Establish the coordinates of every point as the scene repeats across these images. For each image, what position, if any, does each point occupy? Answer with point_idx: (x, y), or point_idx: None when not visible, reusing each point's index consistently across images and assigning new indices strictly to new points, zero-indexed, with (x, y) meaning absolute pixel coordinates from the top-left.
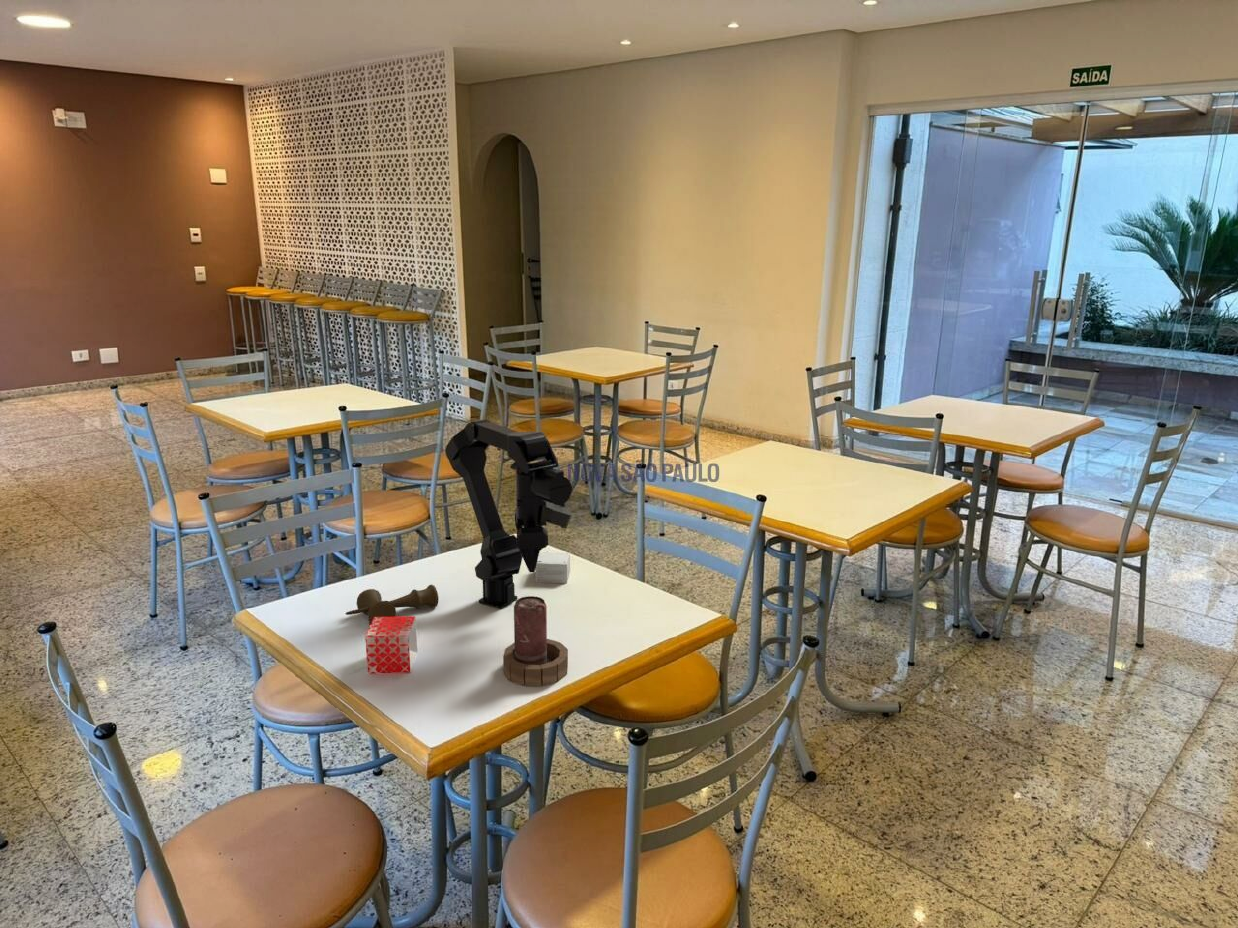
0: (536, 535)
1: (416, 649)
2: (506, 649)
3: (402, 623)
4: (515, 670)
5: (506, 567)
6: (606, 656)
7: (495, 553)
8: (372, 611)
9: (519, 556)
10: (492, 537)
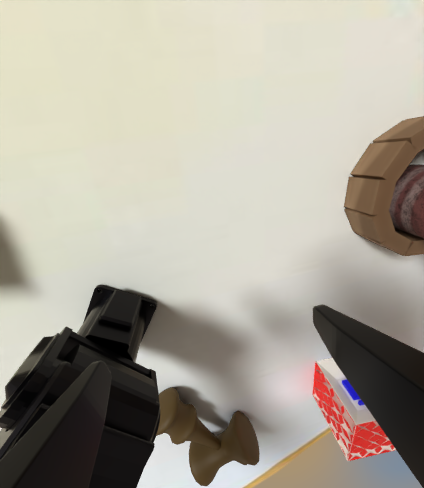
0: None
1: (320, 366)
2: (407, 253)
3: (377, 428)
4: None
5: (130, 379)
6: (383, 8)
7: (141, 470)
8: (258, 451)
9: (64, 385)
10: None
